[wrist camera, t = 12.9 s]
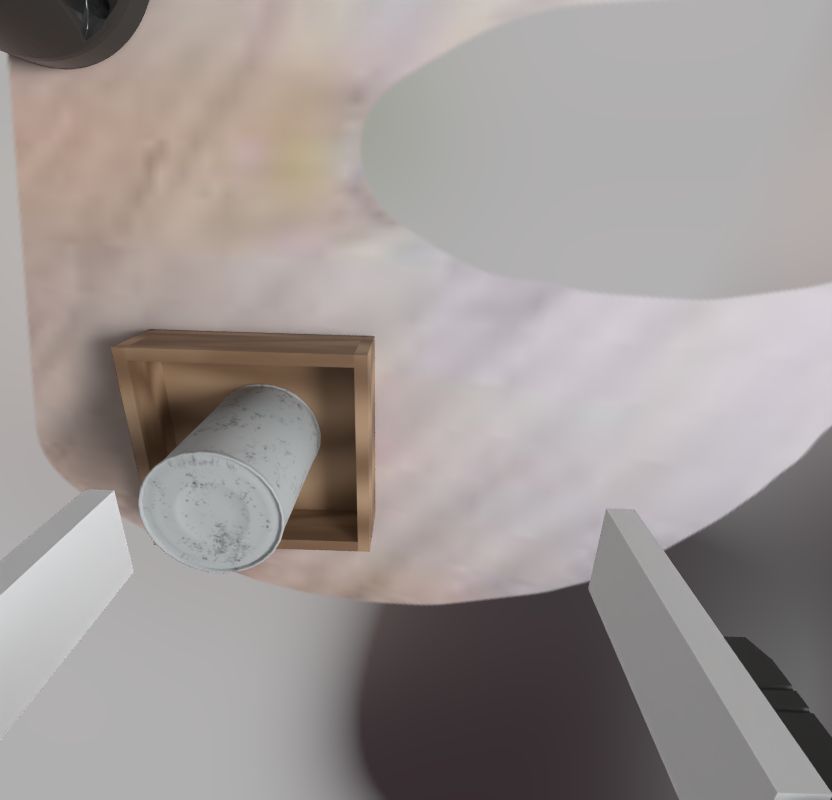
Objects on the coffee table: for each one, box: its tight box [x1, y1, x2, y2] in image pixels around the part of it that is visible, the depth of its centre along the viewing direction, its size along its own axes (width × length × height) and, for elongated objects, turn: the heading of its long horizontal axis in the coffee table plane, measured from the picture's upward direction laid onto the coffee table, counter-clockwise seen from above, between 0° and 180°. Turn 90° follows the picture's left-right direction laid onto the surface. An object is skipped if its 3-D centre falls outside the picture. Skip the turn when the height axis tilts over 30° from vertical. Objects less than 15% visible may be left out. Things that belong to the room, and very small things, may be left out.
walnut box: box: [111, 329, 375, 552], centre depth 41 cm, size 18×19×6 cm
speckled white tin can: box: [138, 384, 321, 573], centre depth 37 cm, size 10×10×12 cm
